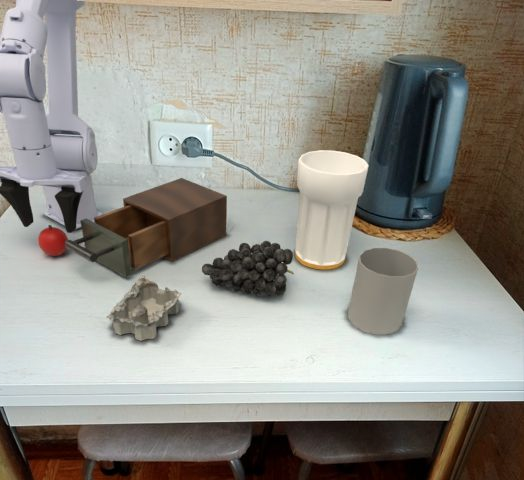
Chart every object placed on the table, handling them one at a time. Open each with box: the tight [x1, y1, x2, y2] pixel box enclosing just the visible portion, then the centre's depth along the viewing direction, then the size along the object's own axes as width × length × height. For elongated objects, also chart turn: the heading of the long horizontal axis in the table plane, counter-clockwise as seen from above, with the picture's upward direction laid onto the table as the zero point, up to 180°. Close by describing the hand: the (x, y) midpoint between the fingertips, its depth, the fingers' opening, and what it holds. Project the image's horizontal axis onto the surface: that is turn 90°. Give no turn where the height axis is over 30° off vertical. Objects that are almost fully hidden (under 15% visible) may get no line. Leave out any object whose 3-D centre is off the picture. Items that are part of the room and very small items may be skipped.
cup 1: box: [294, 149, 370, 271], centre depth 87 cm, size 11×11×17 cm
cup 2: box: [347, 247, 419, 336], centre depth 76 cm, size 8×8×10 cm
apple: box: [37, 224, 69, 257], centre depth 87 cm, size 5×5×6 cm
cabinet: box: [122, 177, 228, 263], centre depth 93 cm, size 14×12×8 cm
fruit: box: [201, 240, 295, 298], centre depth 81 cm, size 9×8×15 cm
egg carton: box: [105, 275, 182, 342], centre depth 74 cm, size 11×8×4 cm
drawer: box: [65, 205, 169, 278], centre depth 86 cm, size 18×10×6 cm, turn 141°
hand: (50, 227), depth 85 cm, fingers open, 7 cm apart
